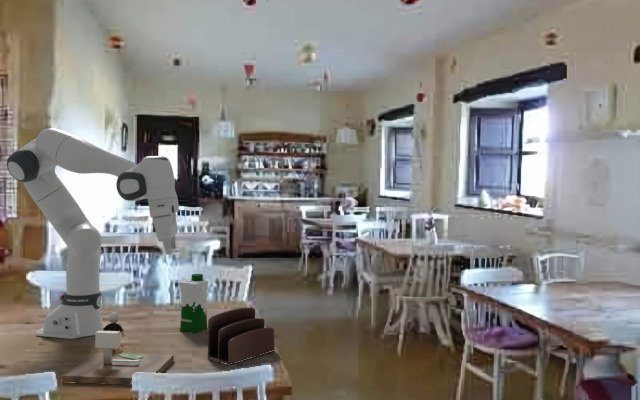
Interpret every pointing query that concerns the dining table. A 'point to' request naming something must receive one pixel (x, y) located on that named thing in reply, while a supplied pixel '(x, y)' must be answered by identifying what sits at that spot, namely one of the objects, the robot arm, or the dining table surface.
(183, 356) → the dining table surface
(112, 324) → the grandmother figurine
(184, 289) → the milk carton
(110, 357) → the grey piece
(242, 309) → the letter holder
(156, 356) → the wooden cutting board
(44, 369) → the dining table surface
